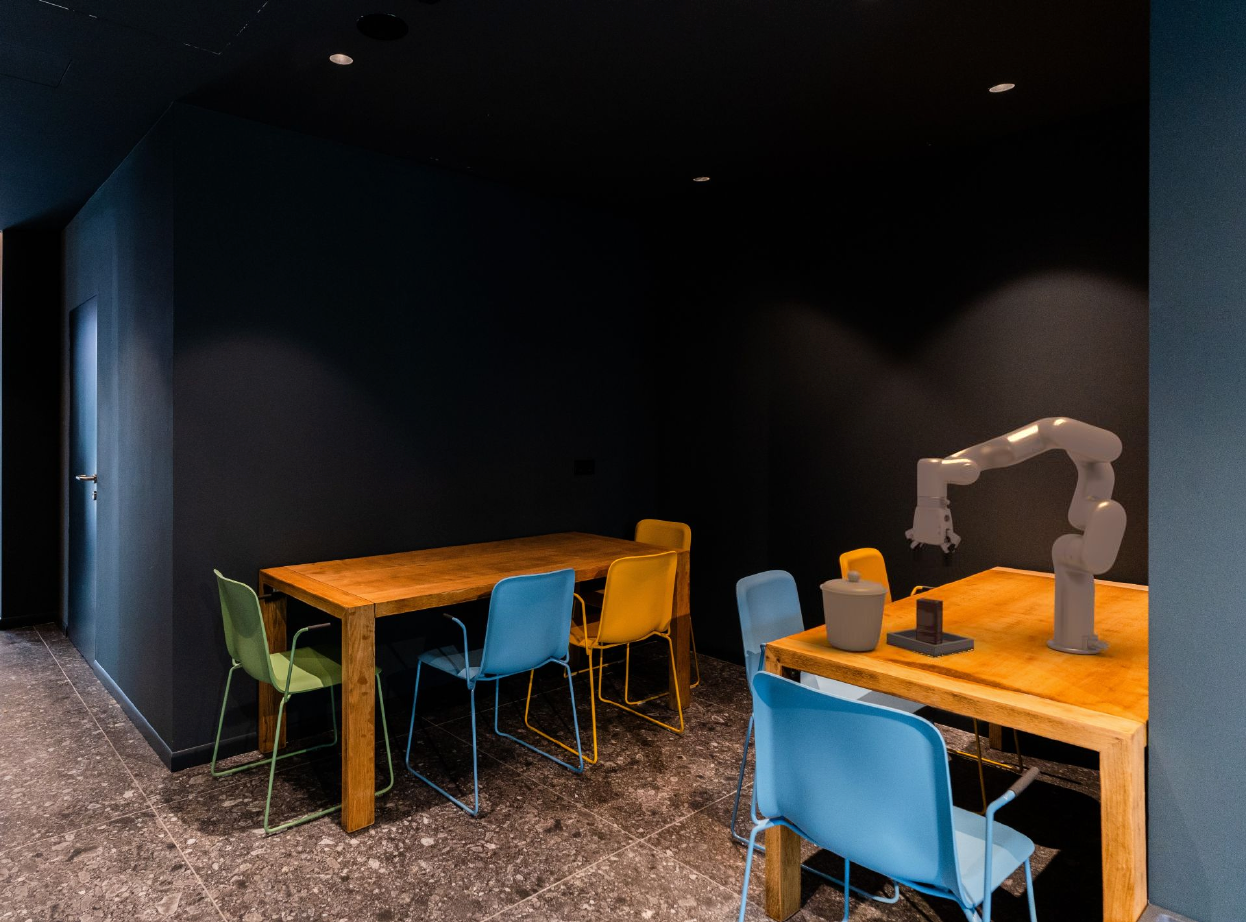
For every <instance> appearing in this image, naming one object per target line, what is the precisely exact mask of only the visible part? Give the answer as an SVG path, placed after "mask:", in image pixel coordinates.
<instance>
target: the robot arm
mask: <svg viewBox="0 0 1246 922" xmlns="http://www.w3.org/2000/svg"><path fill="white" fill-rule="evenodd" d="M1052 449H1060V450H1065V451H1066V453H1067V455H1068V456H1069V458H1070V459H1071V461H1073V464H1075V466H1076V470H1077V473H1078V476H1077V477H1078V478H1077V484H1076V487H1075V490H1074V494H1073V497H1072V500H1071V503H1070V507H1069V509H1068V514H1067V517H1068V518H1067V519H1068V522H1069V523H1070V525H1071V526H1072V527H1074V528H1075V529H1077V530H1080V531H1083V532H1084V533H1083V535H1082V534H1079V533H1078V534H1077V533H1068V534H1063V535H1061V536H1059V537H1058V538H1057V539H1056V540H1055V541H1054V543H1053V545H1052V548H1051V558H1052V564H1053V571H1054V607H1053V608H1054V609H1053V611H1054V612H1053V613H1054V615H1053V619H1054V621H1053V638H1051V639H1049V640H1047V646H1048V648H1051V649H1053V650H1056V651H1060V652H1064V653H1069V654H1077V655H1095V654H1099V653H1101V650H1103V651H1107V650H1108V648H1109V642H1108V641H1103V640H1100V639H1099V634H1096V633H1095V603H1096V601H1095V597H1096V584H1095V583H1096V582H1095V578H1094V575H1102V574H1104V573H1107V572H1108V571H1109V570H1110V569H1111V568H1112V567H1113V565H1114V563H1115V561H1116V558H1117V556H1118V554H1119V550H1120V547H1121V544H1122V540H1123V537H1124V534H1125V531H1126V527H1127V514H1126V511H1125V508H1124V507H1123V506H1122V504H1120V503H1119V502H1118V501H1115V500H1114V499H1112V494H1113V490H1114V485H1115V472H1114V469H1113V466H1112V464H1111V462H1113V461H1115V460H1117V459H1118V458H1119V457H1120V456H1121V454H1122V451H1123V444H1122V441H1121V440H1120V438H1119V437H1118V435H1117V434H1115V433H1114V432H1112V431H1109V430H1107V429H1103V428H1100V427H1097V426H1095V425H1092V424H1089V423H1087V422H1083V421H1080V420H1078V419H1075V418H1070V417H1067V416H1066V417H1065V416H1058V417H1046V418H1041V419H1038V420H1035V421H1034V422H1031V423H1029V424H1026V425H1024V426H1022V427H1020V428H1017V429H1015V430H1013V431H1010V432H1008V433H1005V434H1003V435H1000V436H997V437H995V438H992V439H990V440H987V441H985V442H981V443H979V444H976V445H973V446H970V447H967V448H965V449H962V450H960V451H958V452H956V453H953V454H951V455H950V454H949V455H948V456H946V457H944V458H937V457H936V458H935V457H934V458H933V457H932V458H921V459H919V460H918V462H917V470H916V471H917V474H916V477H917V478H916V479H917V483H916V484H917V485H916V487H917V493H916V494H917V506H915V510H914V517H913V525H912V526H913V527H912V528H910V529H908V530H906V531H905V533H904V534H905V537H906V538H907V542H908V544H909V545H910V548H911V549H912V563H913V564H914V563H915V564H917V563H922V562H923V548H922V545H923V544H927V545H934V546H935V545H936V546H940V547H941V549H942V550H943V551H944V552H942V556H941V560H942V562H941V563H942V564H941V565H942V567H943V568H952V567H953V553H955V550H956V549H957V548H958V547H959V544H960V542H961V540H962V539H961V536H959V535H958V534H957V533H955V532H954V530H953V529H954V527H953V519H952V514H951V510H950V508H948V506H949V505H950V503H951V501H950V500H949V499H948V497H947V496H948V491H947V490H948V489H947V488H948V484H953V485H961V486H966V485H971V484H973V483H975V481H977V480H978V479H979V478H980V474H981V472H982V471H985V470H990V469H997V468H1005V467H1009V466H1013V465H1017V464H1019V463H1021V462H1023V461H1026V460H1028V459H1031V458H1033V457H1034V456H1038V455H1040V454H1042V453H1044V452H1047V451H1050V450H1052ZM947 505H948V506H947Z"/></svg>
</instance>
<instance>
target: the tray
mask: <svg viewBox="0 0 1246 922" xmlns="http://www.w3.org/2000/svg"><path fill="white" fill-rule="evenodd" d="M886 644H887V645H890V646H894V647H897V648H900V649H904V650H906V649H907V650H906V651H910V652H913V651H915V652H914V653H917V652H918V653H917V654H920V653H923V654H922V655H924V654H925V655H924V656H927V655H930V656H933V657H932V658H934V657H936V658H939V657H938V656H941V657H943V656H942V655H946V656H950V655H949V654H952V653H957V654H960V653H959V652H962V653H964V652H963V651H967V652H969V651H968V650H971V649H974V650H975V639H974V638H970V637H967V636H963V635H960V634H954V633H951V632H947V631H943V637H942V644H937V645H932V644H928V643H925V642H921V641H918V640H916V628H909V629H904V630H898V631H896V630H895V631H892V632H886ZM952 655H953V654H952ZM930 656H929V657H930Z"/></svg>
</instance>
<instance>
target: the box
mask: <svg viewBox="0 0 1246 922" xmlns="http://www.w3.org/2000/svg"><path fill="white" fill-rule="evenodd" d="M915 602H916V604H915V605H916V607H915V608H916V610H915V615H916V616H915V620H916V621H915V623H916V625H915V627H916V640H918V641H921V642H925V643H928V644H932V645H937V644H942V637H943V629H944V627H943V625H944V622H943V621H944V616H943V615H944V610H943V609H944V601H943V600H939V599H934V598H932V599H931V598H926V597H925V598H924V597H921V598H918V599H916V601H915Z"/></svg>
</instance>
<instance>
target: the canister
mask: <svg viewBox="0 0 1246 922" xmlns="http://www.w3.org/2000/svg"><path fill="white" fill-rule="evenodd" d="M846 574H847V575H846V577H847V578H835V579H831V580H827V581H825V582H824V583H822V584H820V585H819V588H820V590H822V591H821V592H822V602H823V611H824V612H823V613H824V623H825V630H826V637H827V640H828V642H829V643H830V645H831V646H833V647H835V648H837V649H840V650H844V651H849V652H850V651H851V652H868V651H871V650H874V649H876V647H877V646H878V645H879V642H880V639H881V633H882V625H883V619H884V610H885V603H886V595H887V594H888V593H889V589H888V588H886V587H884V585H883V584H881V583H880V582H879V583H878V582H877V581H876V582H875V581H871V580H867V579H866V580H865V579H861V575H862V574H861V573H860V572H858V571H857V570H850V571H848V573H846Z"/></svg>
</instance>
